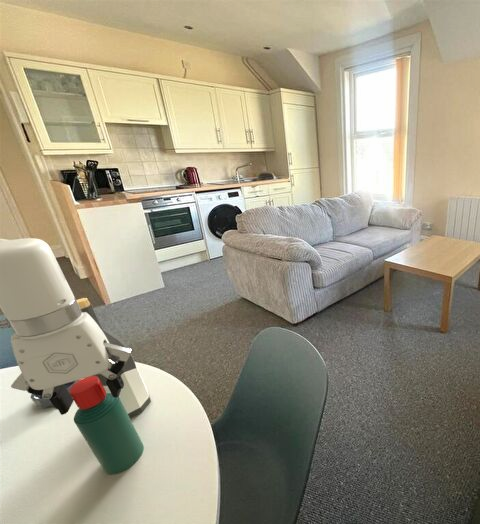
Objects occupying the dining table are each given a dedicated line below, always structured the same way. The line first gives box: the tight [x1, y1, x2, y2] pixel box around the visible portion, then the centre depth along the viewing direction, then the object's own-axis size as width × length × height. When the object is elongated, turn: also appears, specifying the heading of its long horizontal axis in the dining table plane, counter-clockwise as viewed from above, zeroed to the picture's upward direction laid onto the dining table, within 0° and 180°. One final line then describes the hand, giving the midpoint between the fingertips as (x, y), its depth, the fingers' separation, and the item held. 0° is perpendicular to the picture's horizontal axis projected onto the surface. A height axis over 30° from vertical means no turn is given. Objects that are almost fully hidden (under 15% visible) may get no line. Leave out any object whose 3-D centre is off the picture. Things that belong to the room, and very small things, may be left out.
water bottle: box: [73, 393, 145, 475], centre depth 54 cm, size 7×7×19 cm
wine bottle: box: [76, 297, 152, 419], centre depth 63 cm, size 8×8×30 cm
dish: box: [29, 379, 82, 409], centre depth 73 cm, size 9×9×3 cm
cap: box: [69, 376, 106, 409], centre depth 51 cm, size 4×4×4 cm
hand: (93, 399), depth 52 cm, fingers open, 6 cm apart
